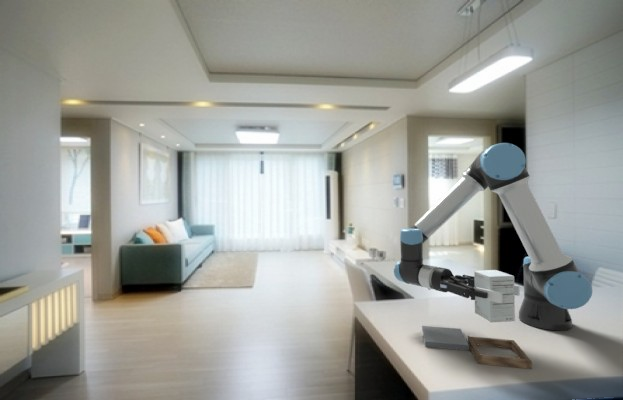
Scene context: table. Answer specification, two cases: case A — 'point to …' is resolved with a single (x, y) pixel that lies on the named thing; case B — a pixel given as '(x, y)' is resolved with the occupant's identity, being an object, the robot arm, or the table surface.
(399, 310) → the table surface
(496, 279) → the supplement box
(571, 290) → the robot arm
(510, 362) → the walnut holder
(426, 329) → the slate trivet
